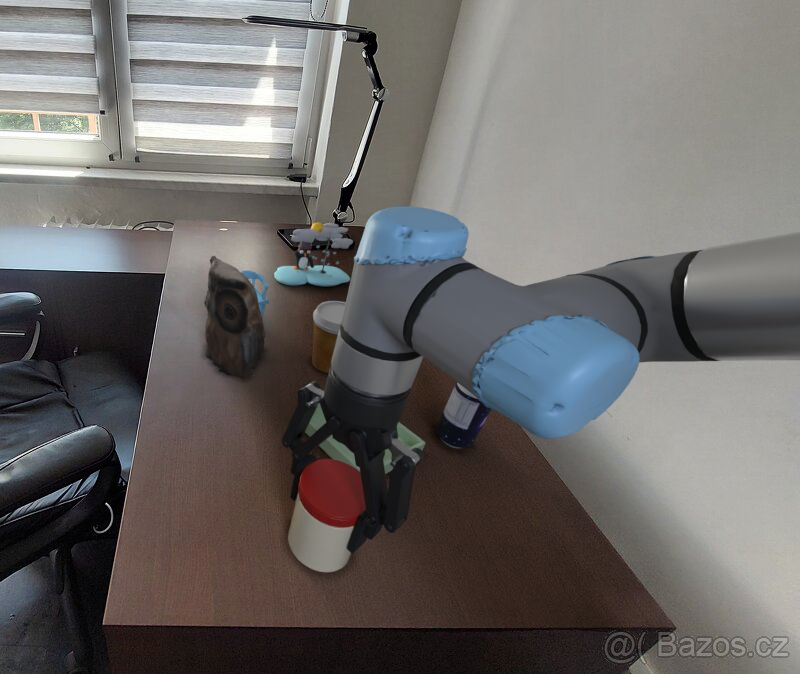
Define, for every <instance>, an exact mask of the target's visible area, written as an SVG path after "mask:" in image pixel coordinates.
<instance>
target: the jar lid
mask: <svg viewBox="0 0 800 674" xmlns="http://www.w3.org/2000/svg"><path fill="white" fill-rule="evenodd" d="M298 494H299V498H300V501H301V503H302V505H303V507H304V509H306V511H307V512H308V513H309V514H310V515H311V516H313V517H314V518H315V519H317V520H318V521H320V522H322V523H324V524H327V525H329V526H333V527H339V528H340V527H342V528H344V527H348V528H349V527H351V526H354V525H356V524H357V521H358V518H359V516H360V514H362V513H363V512H364V511H365V510H366V505H365V498H364V492H363V486H362V480H361V474H360V472H359V471H358V470H357V469H356V468H354V467H353V466H351V465H349V464H347V463H344V462H341V461H338V460H333V459H332V458H323V459H316V461H314V462H312V463H310V464H309V465H308V466H306V467H305V469H304V470H303V472H302V474H301V477H300V479H299V483H298Z"/></svg>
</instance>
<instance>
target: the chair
mask: <svg viewBox="0 0 800 674" xmlns="http://www.w3.org/2000/svg"><path fill="white" fill-rule="evenodd" d="M240 272H241V273H243V274H244V275H245V276H246V277H247V278H248V280H251V284H252V285H253V287H254V288H255V291H256V294H257V298H258V304H259V308H260V312H261V315H262V320H263V318H264V313H265V309H266V305H268V304H269V303H270V302H269V301H270V299H268V298H267V297H266V293H267V291H268V289H269V284H268V281H267V280H266V277H265V275H263V274H260V273H258V272H255V271H252V270H242V271H240ZM256 280H259V281H260V282H261V284H262V286H263V288H264V289H263V290H262V291H259V289H257V288H256Z"/></svg>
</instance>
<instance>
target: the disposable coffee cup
mask: <svg viewBox="0 0 800 674" xmlns="http://www.w3.org/2000/svg"><path fill="white" fill-rule="evenodd" d="M345 304H346V301H341V300H340V301H339V300H327V301H323V302H321V303H319V304H318V305H317V306H316V307H315V308H316V309H314V311H313V312H312V319H313V339H312V357H311V363H312V365H313V367H314V368H315V369H316V370H318V371H320V372H322V373H326V374H329V369H330V367H331V365H332V364H331V360H332V356H333V352H334V348H335V344H336V340H337V336H338V332H339V329H340V325H341V321H342V317H343V313H344V308H345Z"/></svg>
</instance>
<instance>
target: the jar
mask: <svg viewBox="0 0 800 674" xmlns="http://www.w3.org/2000/svg"><path fill="white" fill-rule="evenodd" d="M294 502H295V503H294V507H293V511H292V514H291V521H290V524H289V528H288V533H287V542H288V545H289V548H290V550H291V552H292V554H293V555H294V557H295V558H296V559H297V560H298V561H299V562H300V563H301V564H303V565H304V566H305V567H307V568H309V569H310V570H313V571H316V572H319V573H333V572H337V571H339V570H341V569H343V568H344V567H345V566H346V565H347V564H348V562H349V561H350V558H351V557H352V553H351V552H349V551H348V550H347V548H348V545H349V543H350V540H351V537H352V535H353V532H354V529H355V526H356V525H354V526H351V527H349V528H348V527H344V528H342V527H340V528H339V527H333V526H329V525H327V524H324V523H322V522H320V521H318V520H317V519H315V518H314V517H313V516H311V515H310V514H309V513H308V512H307V511H306V509H304V507H303V505H302V503H301V501H300V498H299V494H297V498H296V500H295V501H294Z"/></svg>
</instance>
